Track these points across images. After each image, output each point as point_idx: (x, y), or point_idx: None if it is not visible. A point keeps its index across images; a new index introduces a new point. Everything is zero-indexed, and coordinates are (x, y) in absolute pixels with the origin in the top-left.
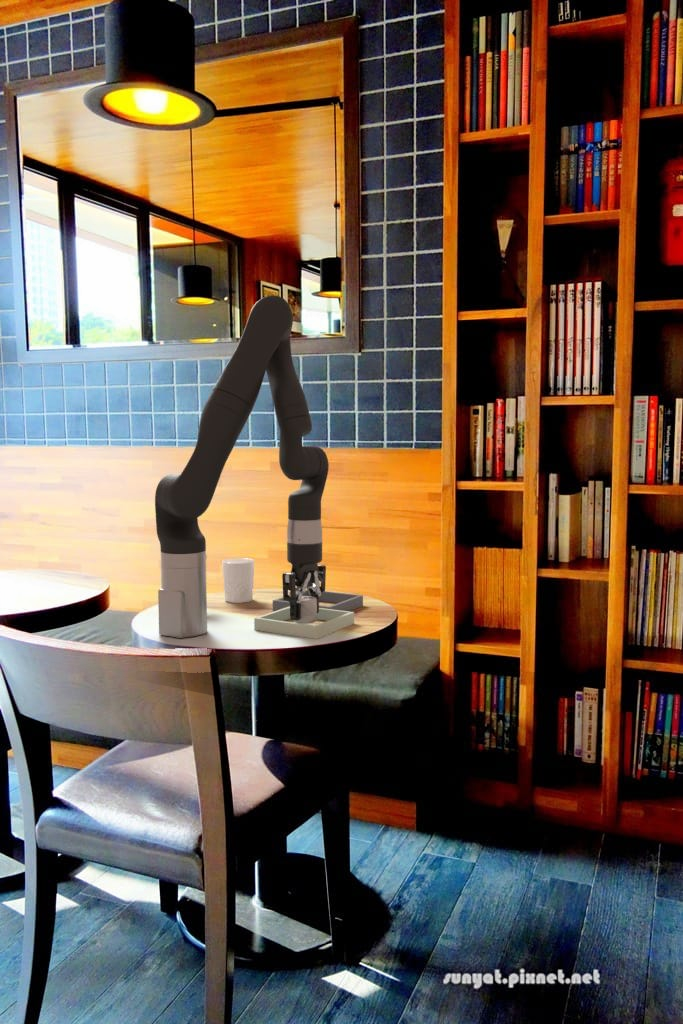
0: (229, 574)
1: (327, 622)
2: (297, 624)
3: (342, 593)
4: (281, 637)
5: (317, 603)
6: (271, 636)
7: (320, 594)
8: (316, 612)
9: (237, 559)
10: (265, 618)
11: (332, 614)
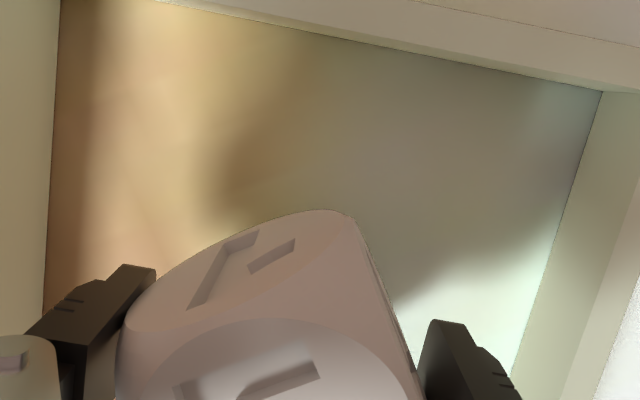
0: None
1: (513, 31)
2: (636, 271)
3: None
4: (635, 325)
5: (114, 307)
6: (621, 392)
7: (11, 339)
8: (347, 220)
9: None
10: None
11: (17, 160)
